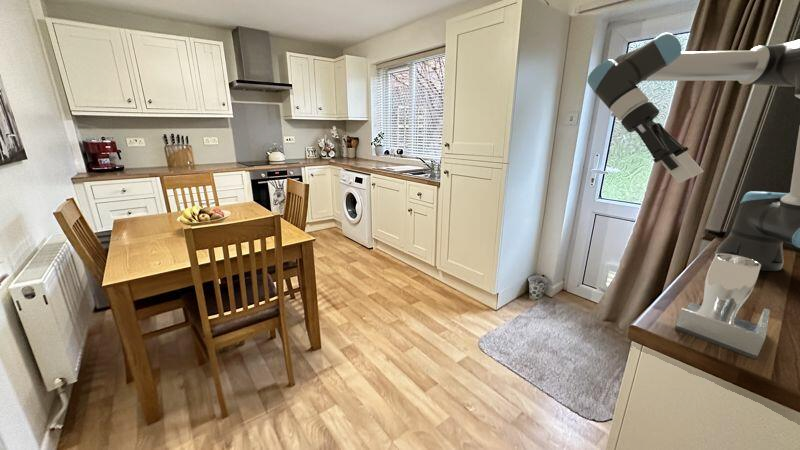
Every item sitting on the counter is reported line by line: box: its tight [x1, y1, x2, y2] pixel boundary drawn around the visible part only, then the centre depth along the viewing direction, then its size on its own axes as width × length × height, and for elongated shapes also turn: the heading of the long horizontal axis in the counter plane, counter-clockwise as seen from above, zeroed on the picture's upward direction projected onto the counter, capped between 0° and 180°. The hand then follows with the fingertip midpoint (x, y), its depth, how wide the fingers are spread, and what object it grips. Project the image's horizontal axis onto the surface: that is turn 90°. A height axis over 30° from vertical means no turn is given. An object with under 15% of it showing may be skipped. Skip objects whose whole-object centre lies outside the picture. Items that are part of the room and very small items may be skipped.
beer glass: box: [697, 253, 761, 325], centre depth 67 cm, size 7×7×15 cm
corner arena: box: [674, 302, 771, 360], centre depth 68 cm, size 15×12×5 cm
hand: (692, 177), depth 76 cm, fingers open, 13 cm apart
